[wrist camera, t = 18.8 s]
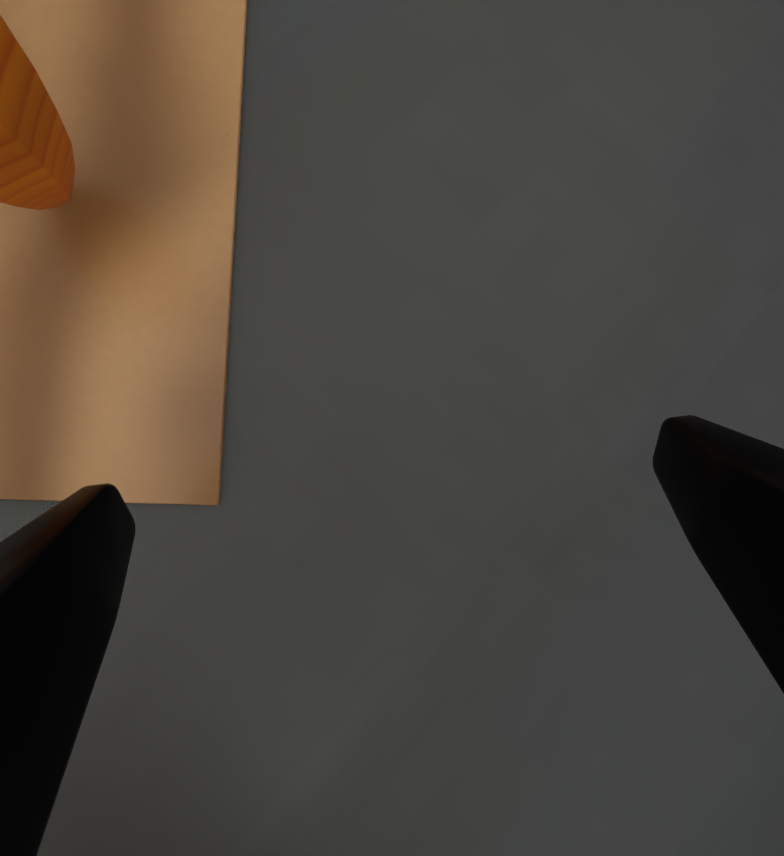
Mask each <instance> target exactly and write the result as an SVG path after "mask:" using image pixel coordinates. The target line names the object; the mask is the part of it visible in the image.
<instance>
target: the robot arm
mask: <svg viewBox="0 0 784 856" xmlns="http://www.w3.org/2000/svg"><path fill="white" fill-rule="evenodd" d="M653 468H654V471H655V474H656V476H657V478H658V480H659V482H660V484H661V486H662V488H663V490H664V492H665V494H666V496H667V498H668V500H669V502H670V504H671V506H672V508H673V511H674V513H675V515H676V517H677V519H678V521H679V523H680V525H681V527H682V529H683V531H684V533H685V535H686V537H687V539H688V541H689V543H690V545H691V546H692V548H693V550H694V552H695V553H696V555H697V557H698V558H699V560H700V562H701V563H702V565H703V567H704V568H705V570H706V571H707V573H708V575H709V576H710V578H711V579H712V581H713V582H714V584H715V586H716V587H717V589H718V590H719V592H720V594H721V595H722V597H723V598H724V600H725V601H726V603H727V605H728V606H729V608H730V609H731V611H732V612H733V614H734V616H735V617H736V619H737V620H738V622H739V624H740V625H741V627H742V628H743V630H744V631H745V633H746V635H747V636H748V638H749V639H750V641H751V643H752V644H753V646H754V647H755V649H756V650H757V652H758V654H759V655H760V657H761V658H762V660H763V662H764V663H765V665H766V666H767V668H768V669H769V671H770V673H771V674H772V676H773V677H774V679H775V681H776V682H777V684H778V685H779V687H780V688H781V690H782V692H783V693H784V449H782V448H780V447H777V446H774V445H772V444H769V443H766V442H764V441H761V440H758V439H755V438H753V437H750V436H747V435H745V434H742V433H739V432H737V431H734V430H731V429H729V428H726V427H723V426H720V425H718V424H715V423H712V422H710V421H707V420H704V419H702V418H699V417H696V416H691V415H688V416H679V417H671V418H668V419H666V420H665V421H664V422H663V423H662V426H661V429H660V433H659V437H658V440H657V444H656V448H655V452H654V455H653ZM134 537H135V523H134V519H133V517H132V515H131V513H130V511H129V509H128V508H127V506H126V504H125V502H124V500H123V498H122V496H121V494H120V492H119V490H118V489H117V488H116V487H115V486H114V485H113V484H109V483H106V484H97V485H89V486H85V487H82V488H81V489H79V490H78V491H76V492H75V493H73V494H72V495H70V496H69V497H67V498H66V499H64V500H63V501H61V502H60V503H58V504H57V505H55V506H54V507H52V508H51V509H49V510H48V511H46V512H45V513H43V514H42V515H40V516H39V517H37V518H36V519H34V520H33V521H31V522H30V523H28V524H27V525H25V526H24V527H22V528H21V529H19V530H18V531H16V532H15V533H13V534H12V535H10V536H9V537H8V538H6V539H5V540H3V541H2V542H0V856H36V855H37V852H38V849H39V846H40V843H41V840H42V838H43V835H44V832H45V829H46V826H47V823H48V820H49V817H50V814H51V811H52V808H53V805H54V802H55V799H56V796H57V793H58V790H59V787H60V784H61V781H62V778H63V775H64V772H65V770H66V767H67V764H68V761H69V758H70V755H71V752H72V749H73V746H74V743H75V740H76V737H77V734H78V731H79V728H80V725H81V722H82V719H83V716H84V713H85V710H86V707H87V705H88V702H89V699H90V696H91V693H92V690H93V687H94V684H95V681H96V678H97V675H98V672H99V669H100V666H101V663H102V660H103V657H104V654H105V651H106V648H107V645H108V642H109V639H110V637H111V633H112V630H113V627H114V624H115V621H116V617H117V613H118V609H119V605H120V601H121V596H122V592H123V587H124V582H125V578H126V573H127V569H128V564H129V559H130V555H131V550H132V546H133V541H134Z"/></svg>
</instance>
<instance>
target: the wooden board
mask: <svg viewBox="0 0 784 856" xmlns="http://www.w3.org/2000/svg"><path fill="white" fill-rule="evenodd" d="M0 15H1V16H2V18H3V20H4V21H5V23H6V24H7V26H8V27H9V29H10V30H11V32H12V34H13V35H14V37H15V38H16V40H17V41H18V43H19V44H20V46H21V47H22V49H23V51H24V52H25V54H26V55H27V57H28V58H29V60H30V61H31V63H32V65H33V66H34V68H35V69H36V71H37V73H38V75H39V77H40V79H41V81H42V82H43V84H44V86H45V88H46V90H47V92H48V94H49V96H50V98H51V100H52V102H53V103H54V105H55V107H56V109H57V111H58V114H59V116H60V118H61V120H62V122H63V125H64V127H65V129H66V131H67V134H68V136H69V138H70V140H71V143H72V150H73V156H74V162H75V174H74V183H73V190H72V194H71V198H70V201H69V202H67V203H65V204H63V205H61V206H59V207H57V208H51V209H44V210H35V209H28V208H21V207H16V206H12V205H8V204H5V203H1V202H0V499H11V500H47V501H63V500H64V499H66V498H67V497H69V496H70V495H72V494H73V493H75V492H76V491H78V490H79V489H81V488H82V487H85V486H89V485H97V484H106V483H109V484H113V485H114V486H115V487H116V488H117V489H118V490H119V492H120V494H121V496H122V498H123V500H124V502H125V503H154V504H190V505H218V504H219V503H220V488H221V470H222V452H223V434H224V416H225V397H226V379H227V361H228V343H229V325H230V307H231V289H232V271H233V253H234V235H235V217H236V199H237V180H238V162H239V144H240V126H241V108H242V90H243V72H244V54H245V36H246V18H247V0H0Z"/></svg>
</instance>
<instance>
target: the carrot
mask: <svg viewBox="0 0 784 856" xmlns="http://www.w3.org/2000/svg"><path fill="white" fill-rule="evenodd" d="M74 174H75V162H74V156H73V150H72V143H71V140H70V138H69V136H68V134H67V131H66V129H65V127H64V125H63V122H62V120H61V118H60V116H59V114H58V111H57V109H56V107H55V105H54V103H53V102H52V100H51V98H50V96H49V94H48V92H47V90H46V88H45V86H44V84H43V82H42V81H41V79H40V77H39V75H38V73H37V71H36V69H35V68H34V66H33V65H32V63H31V61H30V60H29V58H28V57H27V55H26V54H25V52H24V51H23V49H22V47H21V46H20V44H19V43H18V41H17V40H16V38H15V37H14V35H13V34H12V32H11V30H10V29H9V27H8V26H7V24H6V23H5V21H4V20H3V18H2V16H1V15H0V202H1V203H5V204H8V205H12V206H16V207H21V208H28V209H35V210H44V209H51V208H57V207H59V206H61V205H63V204H65V203H67V202H69V201H70V198H71V194H72V190H73V183H74Z"/></svg>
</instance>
